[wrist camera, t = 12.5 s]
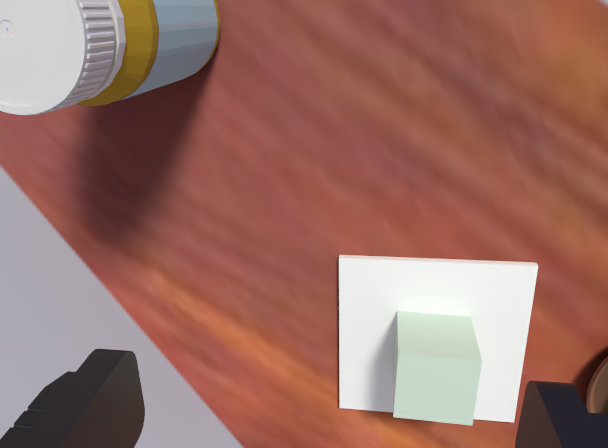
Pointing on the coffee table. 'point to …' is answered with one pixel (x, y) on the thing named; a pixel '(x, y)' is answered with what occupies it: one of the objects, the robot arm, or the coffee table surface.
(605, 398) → the cup and saucer
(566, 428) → the robot arm
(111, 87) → the bottle
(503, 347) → the mat
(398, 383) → the sage cube
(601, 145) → the coffee table surface
